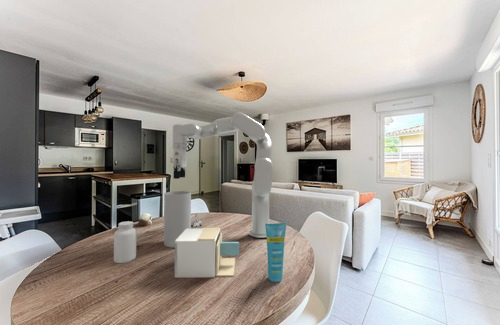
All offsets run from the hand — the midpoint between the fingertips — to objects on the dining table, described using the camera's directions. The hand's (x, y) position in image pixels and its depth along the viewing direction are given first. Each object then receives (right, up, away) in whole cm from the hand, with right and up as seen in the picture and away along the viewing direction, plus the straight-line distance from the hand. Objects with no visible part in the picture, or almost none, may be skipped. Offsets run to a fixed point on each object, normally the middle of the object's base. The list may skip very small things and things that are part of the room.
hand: (179, 177), depth 115 cm
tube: (+48, -32, -43) cm, 72 cm away
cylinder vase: (+3, -32, -12) cm, 34 cm away
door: (+31, -30, -32) cm, 54 cm away
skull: (-31, -33, +16) cm, 48 cm away
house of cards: (+7, -32, +17) cm, 37 cm away
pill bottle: (-12, -32, -29) cm, 45 cm away
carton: (+23, -31, -36) cm, 53 cm away
